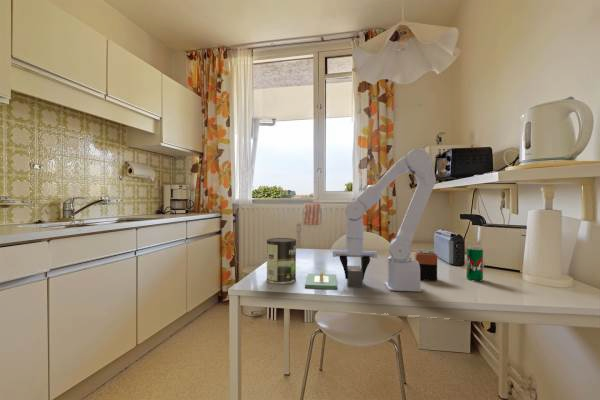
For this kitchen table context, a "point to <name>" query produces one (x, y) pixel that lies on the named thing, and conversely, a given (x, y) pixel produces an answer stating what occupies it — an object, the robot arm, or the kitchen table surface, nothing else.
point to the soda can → (474, 262)
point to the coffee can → (281, 260)
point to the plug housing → (355, 276)
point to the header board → (321, 281)
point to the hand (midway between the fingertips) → (354, 278)
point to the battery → (427, 265)
